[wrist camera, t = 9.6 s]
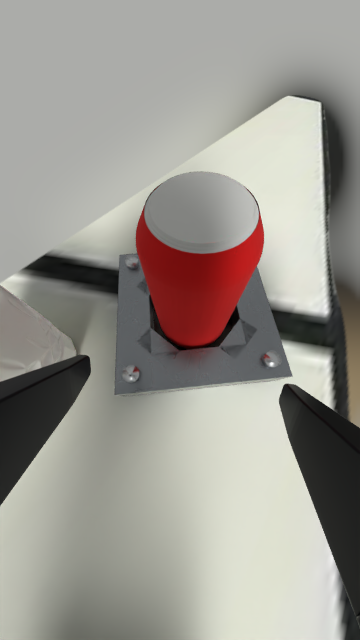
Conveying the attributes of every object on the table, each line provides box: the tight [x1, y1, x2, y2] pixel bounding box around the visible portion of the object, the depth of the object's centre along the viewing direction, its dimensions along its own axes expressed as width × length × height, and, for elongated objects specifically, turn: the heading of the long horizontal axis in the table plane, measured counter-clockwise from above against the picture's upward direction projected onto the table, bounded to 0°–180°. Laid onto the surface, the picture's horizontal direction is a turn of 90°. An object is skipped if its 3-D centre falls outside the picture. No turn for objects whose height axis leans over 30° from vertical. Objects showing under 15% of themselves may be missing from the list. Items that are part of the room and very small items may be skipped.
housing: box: [115, 254, 292, 396], centre depth 17 cm, size 13×13×3 cm
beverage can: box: [136, 172, 264, 349], centre depth 13 cm, size 6×6×12 cm
